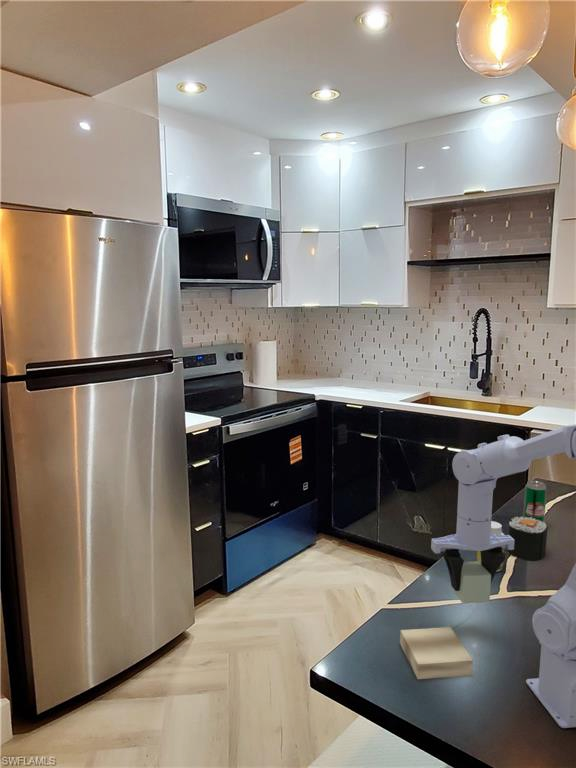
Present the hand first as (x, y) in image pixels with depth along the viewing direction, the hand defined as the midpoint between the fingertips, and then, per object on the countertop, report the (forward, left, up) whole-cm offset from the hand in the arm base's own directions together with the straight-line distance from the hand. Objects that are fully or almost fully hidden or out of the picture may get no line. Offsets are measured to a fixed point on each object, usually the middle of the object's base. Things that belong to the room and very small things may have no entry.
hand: (470, 587), depth 97 cm
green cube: (0, 0, -1) cm, 1 cm away
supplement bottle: (+22, -15, -9) cm, 28 cm away
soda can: (+42, -37, -9) cm, 57 cm away
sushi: (+28, -27, -9) cm, 40 cm away
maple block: (-7, +9, -9) cm, 14 cm away
